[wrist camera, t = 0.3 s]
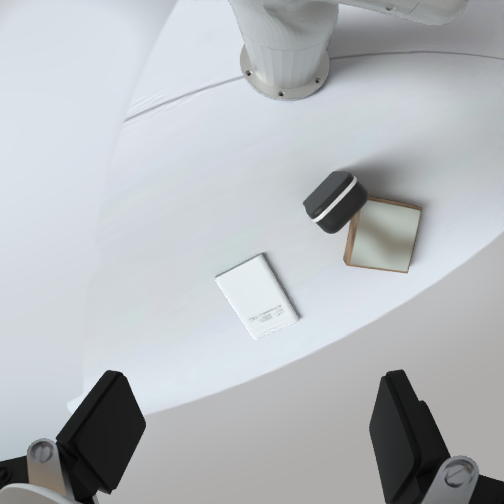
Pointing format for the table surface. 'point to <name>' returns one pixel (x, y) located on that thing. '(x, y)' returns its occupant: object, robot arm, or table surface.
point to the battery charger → (336, 201)
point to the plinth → (383, 235)
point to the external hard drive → (257, 297)
